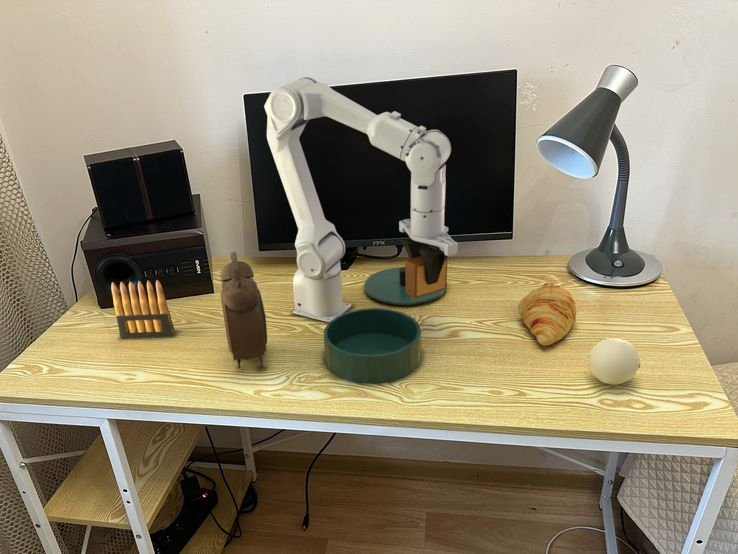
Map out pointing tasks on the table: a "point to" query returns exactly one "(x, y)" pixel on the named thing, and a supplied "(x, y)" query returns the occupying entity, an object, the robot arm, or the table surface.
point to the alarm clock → (243, 312)
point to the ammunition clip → (142, 312)
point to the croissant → (548, 313)
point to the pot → (372, 345)
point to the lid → (394, 288)
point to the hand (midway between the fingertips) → (426, 279)
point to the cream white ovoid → (614, 361)
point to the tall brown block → (422, 278)
